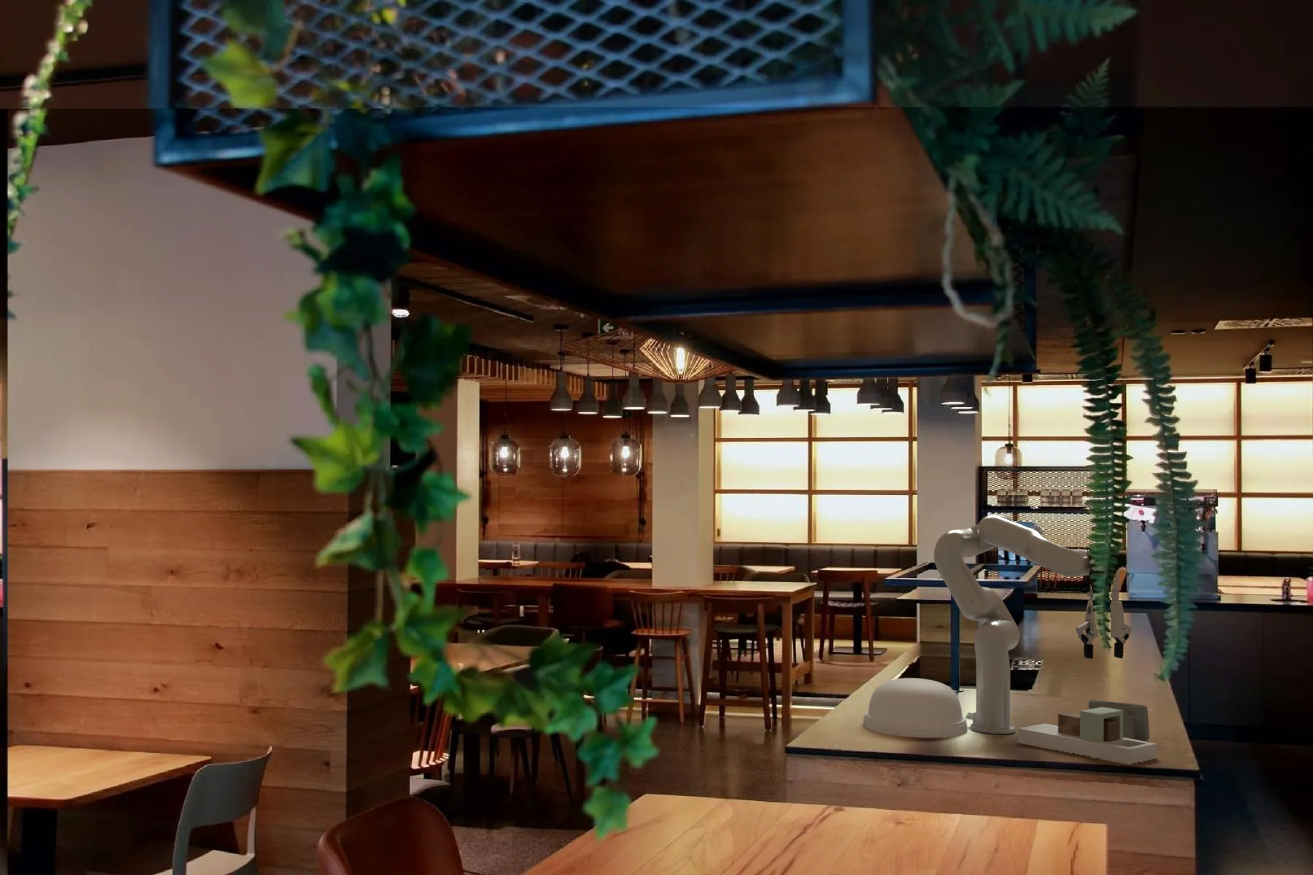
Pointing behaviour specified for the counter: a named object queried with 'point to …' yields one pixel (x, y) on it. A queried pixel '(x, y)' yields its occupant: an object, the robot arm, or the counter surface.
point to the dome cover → (915, 709)
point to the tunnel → (1098, 723)
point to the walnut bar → (1071, 726)
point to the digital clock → (1129, 718)
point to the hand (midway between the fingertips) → (1103, 657)
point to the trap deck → (1087, 745)
